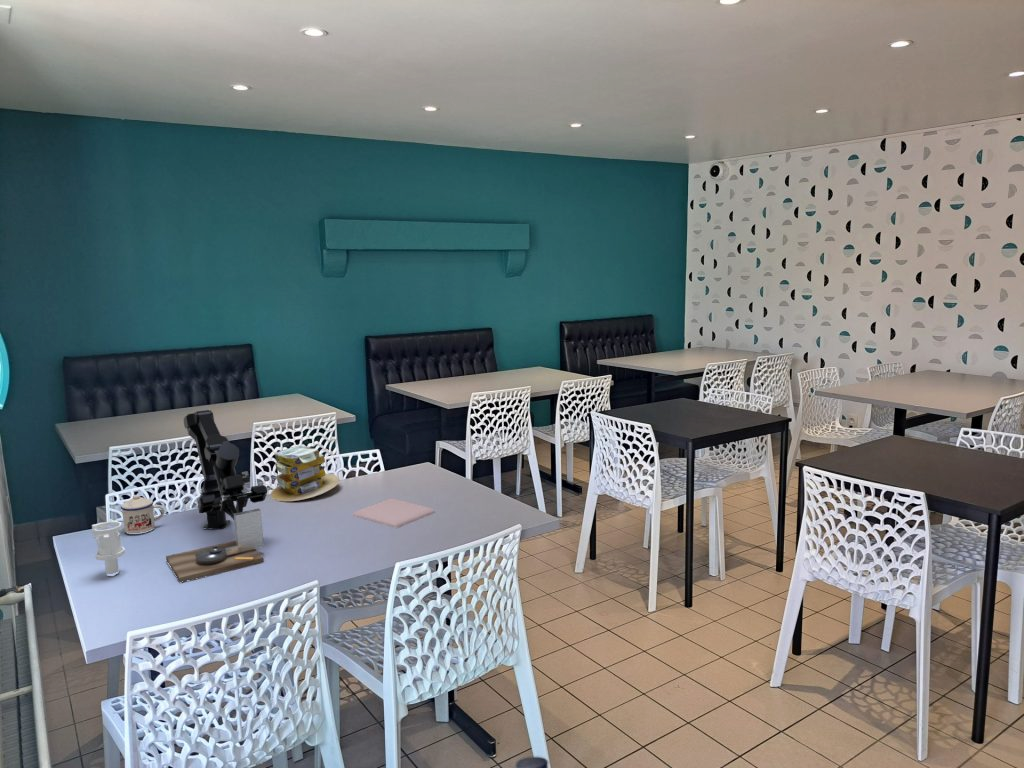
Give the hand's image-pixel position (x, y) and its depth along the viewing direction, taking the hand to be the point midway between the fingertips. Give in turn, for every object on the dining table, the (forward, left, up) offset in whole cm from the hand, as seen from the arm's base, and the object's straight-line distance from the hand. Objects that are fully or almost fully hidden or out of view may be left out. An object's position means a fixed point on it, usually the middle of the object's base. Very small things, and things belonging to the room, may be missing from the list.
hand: (240, 523), depth 212 cm
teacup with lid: (-22, -38, -9) cm, 45 cm away
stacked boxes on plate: (-58, +4, -10) cm, 59 cm away
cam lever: (+4, -2, -7) cm, 9 cm away
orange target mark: (+7, +3, -8) cm, 11 cm away
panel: (-26, +33, -10) cm, 43 cm away
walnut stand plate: (+5, -6, -9) cm, 12 cm away
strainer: (+12, -31, -9) cm, 35 cm away
